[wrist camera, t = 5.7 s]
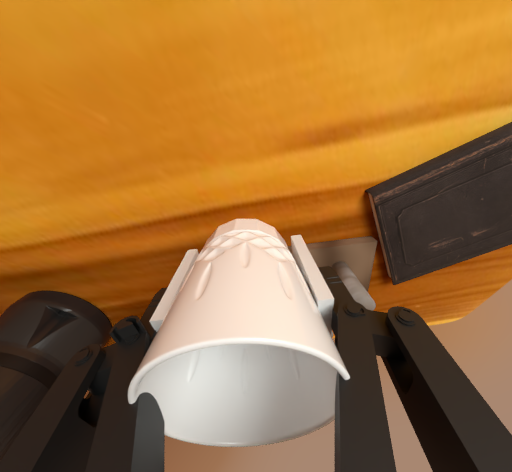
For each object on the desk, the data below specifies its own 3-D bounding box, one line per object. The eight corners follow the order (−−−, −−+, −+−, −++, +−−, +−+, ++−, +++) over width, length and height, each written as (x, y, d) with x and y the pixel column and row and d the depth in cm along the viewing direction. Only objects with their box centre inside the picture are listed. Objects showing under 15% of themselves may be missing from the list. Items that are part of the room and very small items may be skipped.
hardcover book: (557, 212, 26) (583, 219, 24) (384, 275, 30) (394, 285, 28) (591, 81, 19) (631, 75, 17) (362, 188, 24) (372, 193, 22)
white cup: (312, 235, 15) (404, 377, 6) (264, 300, 18) (280, 455, 9) (220, 191, 13) (160, 304, 4) (185, 272, 16) (109, 433, 7)
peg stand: (278, 306, 33) (286, 356, 25) (272, 248, 27) (279, 291, 19) (360, 297, 32) (393, 347, 24) (371, 236, 26) (418, 275, 19)
